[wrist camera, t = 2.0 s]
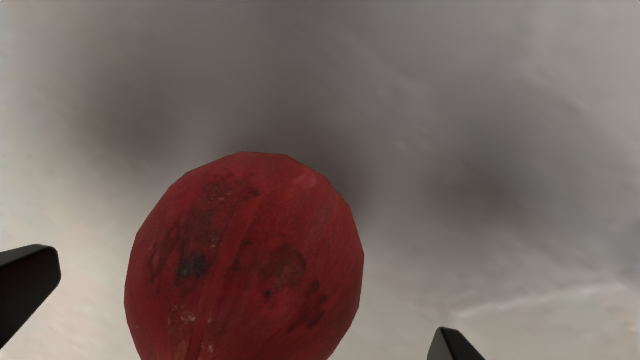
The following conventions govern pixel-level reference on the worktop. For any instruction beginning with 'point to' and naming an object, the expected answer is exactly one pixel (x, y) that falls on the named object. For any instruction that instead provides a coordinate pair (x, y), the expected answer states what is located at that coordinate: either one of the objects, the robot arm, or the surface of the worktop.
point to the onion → (245, 265)
